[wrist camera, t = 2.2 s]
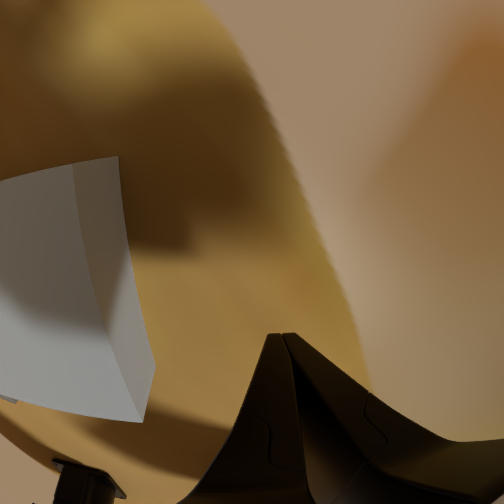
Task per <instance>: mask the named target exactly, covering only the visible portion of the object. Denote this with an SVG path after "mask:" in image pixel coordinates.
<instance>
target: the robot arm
mask: <svg viewBox="0 0 504 504" xmlns="http://www.w3.org/2000/svg"><path fill="white" fill-rule="evenodd" d="M368 393H369V391H368V390H366V389H365V388H364V387H363V386H361V385H360V384H359V383H357V382H356V381H355V380H354V379H352V378H351V377H350V376H349V375H347V374H346V373H345V372H343V371H342V370H341V369H340V368H338V367H337V366H336V365H335V364H333V363H332V362H331V361H330V360H328V359H327V358H326V357H325V356H323V355H322V354H321V353H320V352H318V351H317V350H316V349H315V348H313V347H312V346H311V345H310V344H309V343H307V342H306V341H305V340H304V339H302V338H301V337H300V336H299V335H298V334H296V333H283V334H282V335H281V334H280V333H270V334H268V335H267V337H266V340H265V343H264V346H263V348H262V351H261V354H260V357H259V360H258V363H257V365H256V368H255V371H254V374H253V377H252V379H251V382H250V385H249V388H248V390H247V393H246V396H245V398H244V401H243V404H242V407H241V408H240V411H239V414H238V416H237V419H236V421H235V423H234V425H233V428H232V430H231V432H230V434H229V435H228V437H227V439H226V441H225V443H224V444H223V446H222V448H221V449H220V451H219V452H218V454H217V455H216V457H215V459H214V460H213V462H212V463H211V465H210V466H209V468H208V469H207V471H206V472H205V474H204V475H203V477H202V478H201V480H200V481H199V482H198V484H197V485H196V486H195V487H194V489H193V490H192V491H191V492H190V493H189V494H188V495H187V496H186V497H185V498H184V499H182V500H181V501H179V502H178V503H177V504H504V439H497V440H487V441H474V442H456V441H451V440H447V439H445V438H442V437H440V436H438V435H436V434H434V433H433V432H431V431H429V430H427V429H426V428H424V427H422V426H420V425H419V424H417V423H415V422H413V421H412V420H410V419H408V418H407V417H405V416H403V415H402V414H400V413H399V412H397V411H395V410H394V409H392V408H391V407H389V406H388V405H386V404H385V403H384V402H382V401H381V400H380V399H378V398H377V397H376V396H374V395H373V394H372V393H369V394H368ZM52 464H53V465H54V466H55V467H56V468H57V469H58V470H59V471H60V472H61V474H60V477H59V480H58V483H57V487H56V491H55V494H54V500H53V504H114V499H115V498H120V499H126V497H127V496H126V495H125V493H124V492H123V491H122V490H121V489H120V488H119V486H118V485H117V484H116V483H115V482H114V480H113V479H112V478H111V477H110V476H109V475H108V474H106V473H103V472H99V471H94V470H90V469H87V468H83V467H79V466H76V465H72V464H69V463H66V462H62V461H59V460H56V459H52ZM32 504H35V503H32Z"/></svg>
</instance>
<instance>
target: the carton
mask: <svg viewBox="0 0 504 504" xmlns="http://www.w3.org/2000/svg"><path fill="white" fill-rule="evenodd" d="M155 368H156V365H155V362H154V358H153V355H152V351H151V347H150V344H149V340H148V336H147V332H146V328H145V324H144V320H143V316H142V312H141V307H140V303H139V298H138V294H137V289H136V284H135V279H134V274H133V269H132V263H131V258H130V252H129V246H128V239H127V233H126V226H125V218H124V211H123V202H122V193H121V184H120V173H119V160H118V156H113V157H107V158H100V159H94V160H89V161H83V162H78V163H72V164H67V165H62V166H58V167H53V168H48V169H44V170H40V171H35V172H31V173H27V174H23V175H20V176H16V177H12V178H8V179H5V180H1V181H0V394H1V395H4V396H7V397H10V398H13V399H17V400H20V401H23V402H27V403H31V404H34V405H38V406H42V407H46V408H50V409H55V410H59V411H64V412H69V413H74V414H79V415H85V416H90V417H97V418H103V419H111V420H119V421H128V422H138V423H143V420H144V415H145V410H146V406H147V402H148V397H149V393H150V389H151V384H152V380H153V376H154V372H155Z"/></svg>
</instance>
